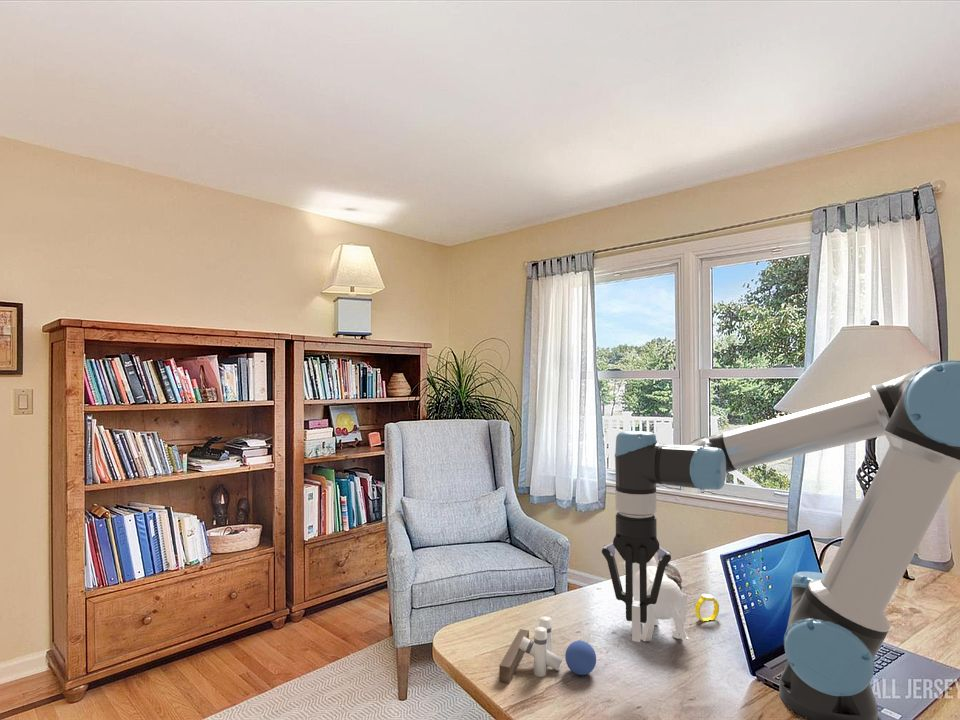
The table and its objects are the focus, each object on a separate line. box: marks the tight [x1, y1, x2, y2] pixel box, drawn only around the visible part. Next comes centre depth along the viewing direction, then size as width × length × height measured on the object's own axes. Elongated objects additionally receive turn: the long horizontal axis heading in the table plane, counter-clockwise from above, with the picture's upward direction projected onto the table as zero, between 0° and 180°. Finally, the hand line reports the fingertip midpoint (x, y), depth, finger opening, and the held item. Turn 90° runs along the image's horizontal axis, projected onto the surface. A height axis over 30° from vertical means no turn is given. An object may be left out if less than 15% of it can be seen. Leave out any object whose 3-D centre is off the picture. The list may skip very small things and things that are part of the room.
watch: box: [694, 593, 720, 623], centre depth 136 cm, size 6×3×6 cm, turn 108°
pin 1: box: [538, 616, 552, 652], centre depth 115 cm, size 2×2×8 cm
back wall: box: [498, 628, 530, 684], centre depth 115 cm, size 2×16×3 cm, turn 162°
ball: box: [564, 640, 597, 676], centre depth 111 cm, size 6×6×6 cm
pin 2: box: [533, 626, 547, 678], centre depth 111 cm, size 2×2×8 cm
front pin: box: [519, 637, 563, 672], centre depth 113 cm, size 2×2×8 cm
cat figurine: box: [617, 556, 690, 642], centre depth 129 cm, size 25×10×17 cm, turn 15°
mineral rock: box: [664, 563, 683, 589], centre depth 158 cm, size 15×8×4 cm, turn 141°
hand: (636, 638), depth 107 cm, fingers closed
